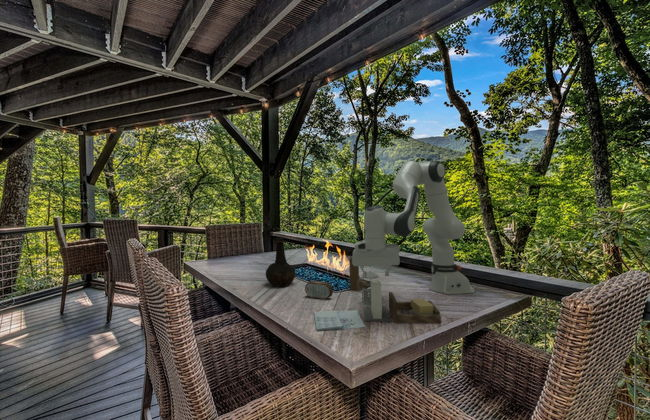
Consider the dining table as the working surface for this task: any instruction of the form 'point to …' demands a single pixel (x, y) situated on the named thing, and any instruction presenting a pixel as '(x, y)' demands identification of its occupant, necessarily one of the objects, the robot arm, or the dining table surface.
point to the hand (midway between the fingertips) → (375, 275)
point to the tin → (318, 289)
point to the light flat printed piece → (338, 320)
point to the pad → (370, 319)
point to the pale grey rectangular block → (376, 299)
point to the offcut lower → (418, 313)
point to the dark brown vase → (280, 267)
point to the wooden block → (355, 277)
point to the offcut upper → (422, 306)
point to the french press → (367, 300)
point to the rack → (411, 317)
